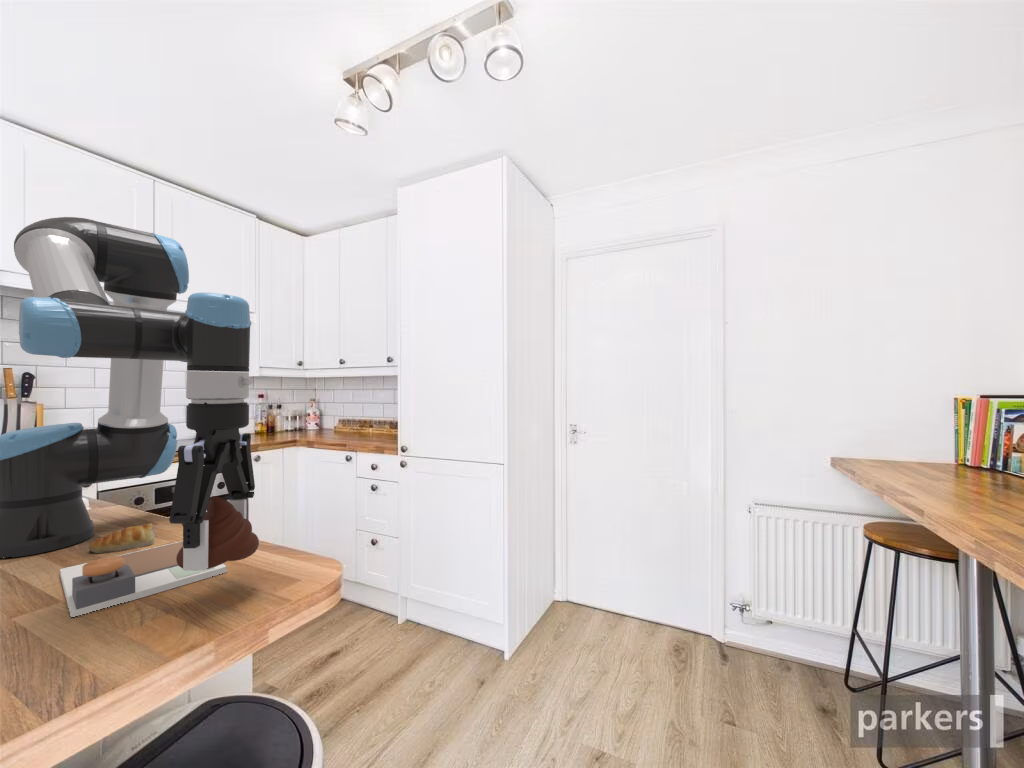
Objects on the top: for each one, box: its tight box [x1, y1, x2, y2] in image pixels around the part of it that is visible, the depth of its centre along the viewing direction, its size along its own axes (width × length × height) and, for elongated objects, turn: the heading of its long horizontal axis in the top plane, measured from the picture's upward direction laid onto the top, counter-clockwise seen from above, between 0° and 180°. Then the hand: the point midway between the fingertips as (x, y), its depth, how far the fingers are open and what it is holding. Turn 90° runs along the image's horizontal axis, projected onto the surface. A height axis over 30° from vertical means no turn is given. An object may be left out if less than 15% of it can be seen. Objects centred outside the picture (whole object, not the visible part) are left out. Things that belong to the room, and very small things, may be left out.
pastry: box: [88, 523, 155, 554], centre depth 82 cm, size 9×7×4 cm
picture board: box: [59, 540, 227, 618], centre depth 70 cm, size 20×18×4 cm
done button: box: [82, 555, 125, 583], centre depth 61 cm, size 4×4×3 cm
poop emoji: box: [176, 495, 260, 571], centre depth 61 cm, size 10×8×9 cm
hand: (217, 553), depth 61 cm, fingers closed on poop emoji, 9 cm apart
